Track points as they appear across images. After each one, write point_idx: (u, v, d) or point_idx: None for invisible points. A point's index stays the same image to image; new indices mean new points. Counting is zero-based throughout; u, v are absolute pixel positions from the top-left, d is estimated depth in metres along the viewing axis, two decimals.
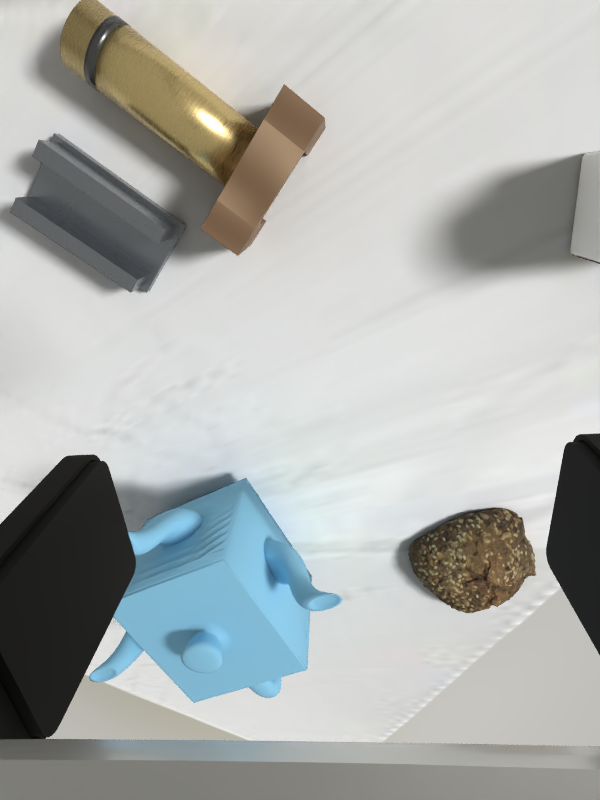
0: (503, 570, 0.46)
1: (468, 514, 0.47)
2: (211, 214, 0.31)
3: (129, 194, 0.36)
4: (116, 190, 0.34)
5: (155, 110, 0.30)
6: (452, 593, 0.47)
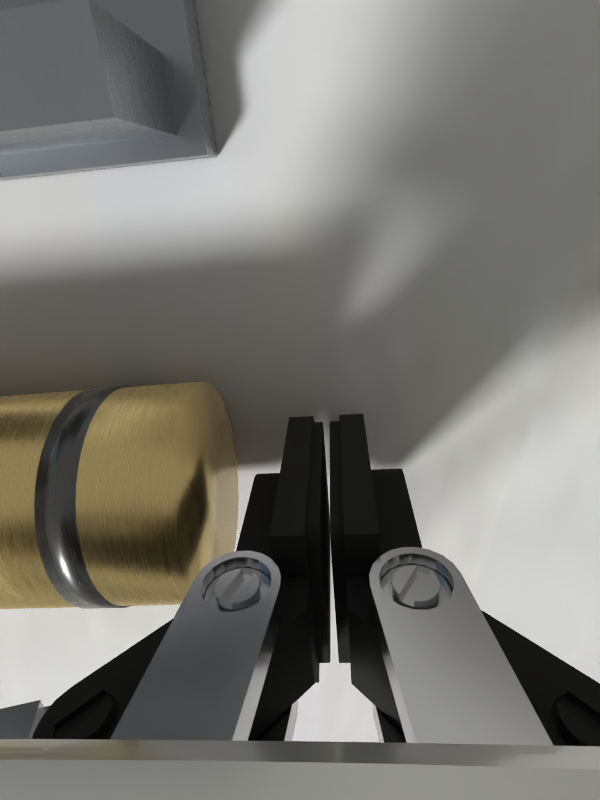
0: None
1: None
2: None
3: None
4: None
5: None
6: None
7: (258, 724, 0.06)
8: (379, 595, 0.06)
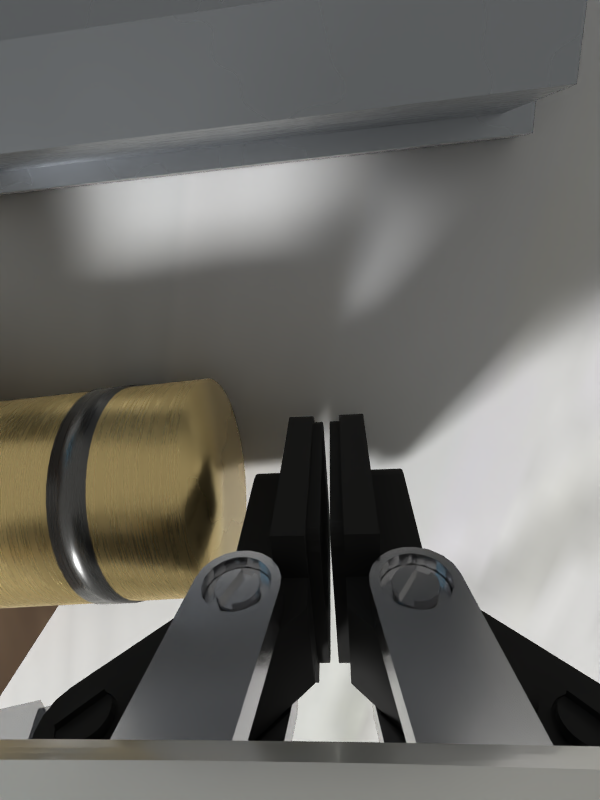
0: None
1: None
2: None
3: (154, 152, 0.08)
4: (159, 143, 0.07)
5: None
6: None
7: (258, 724, 0.06)
8: (379, 595, 0.06)
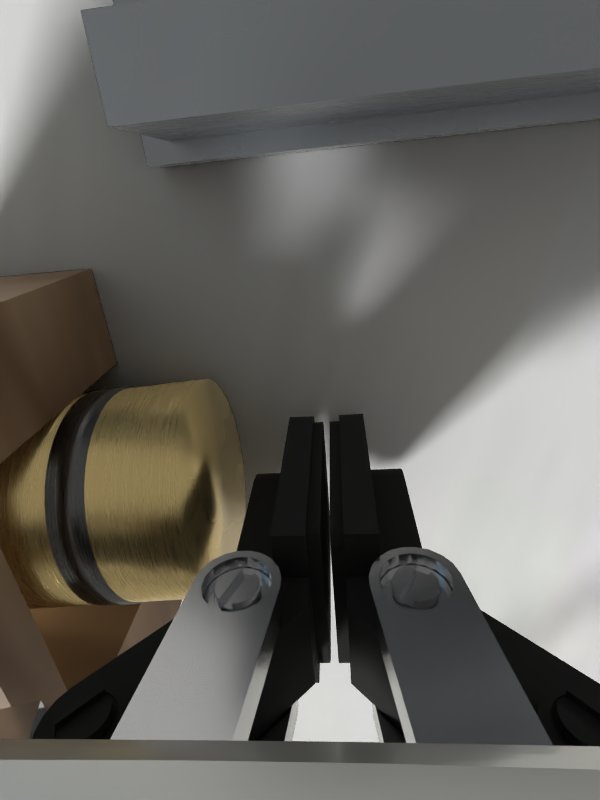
0: None
1: None
2: None
3: (395, 113, 0.08)
4: (444, 97, 0.07)
5: None
6: None
7: (258, 724, 0.06)
8: (379, 595, 0.06)
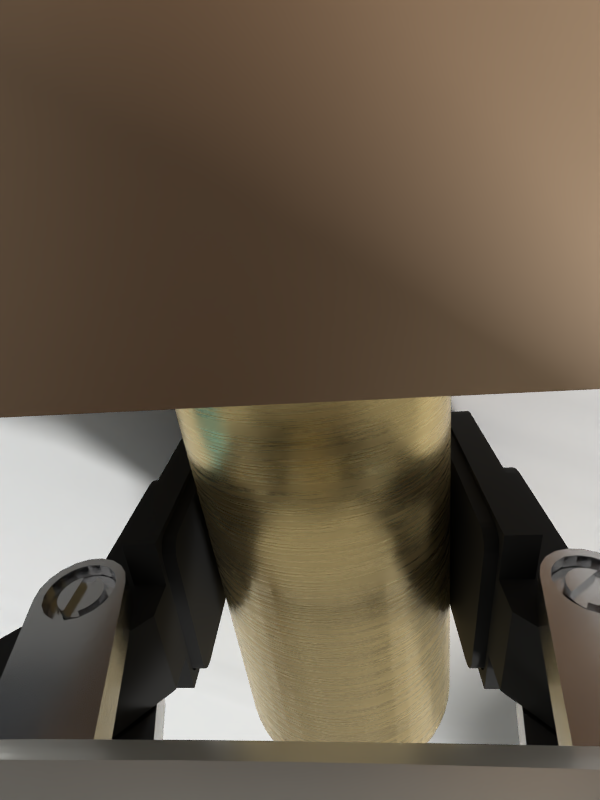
0: None
1: None
2: None
3: None
4: None
5: (210, 426, 0.06)
6: None
7: (126, 722, 0.07)
8: (561, 599, 0.06)
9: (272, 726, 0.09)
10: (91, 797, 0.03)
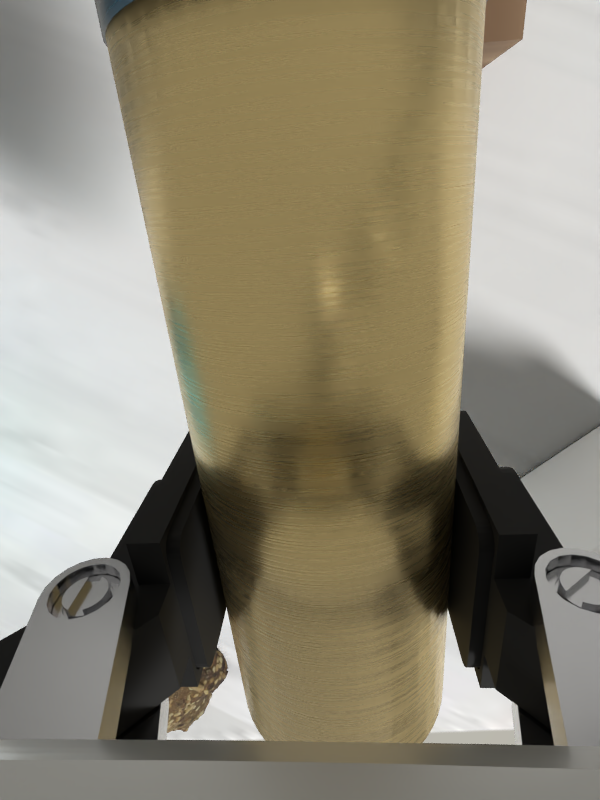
0: None
1: None
2: None
3: None
4: None
5: (222, 419, 0.06)
6: None
7: (130, 721, 0.07)
8: (555, 599, 0.06)
9: (265, 726, 0.09)
10: (91, 797, 0.03)
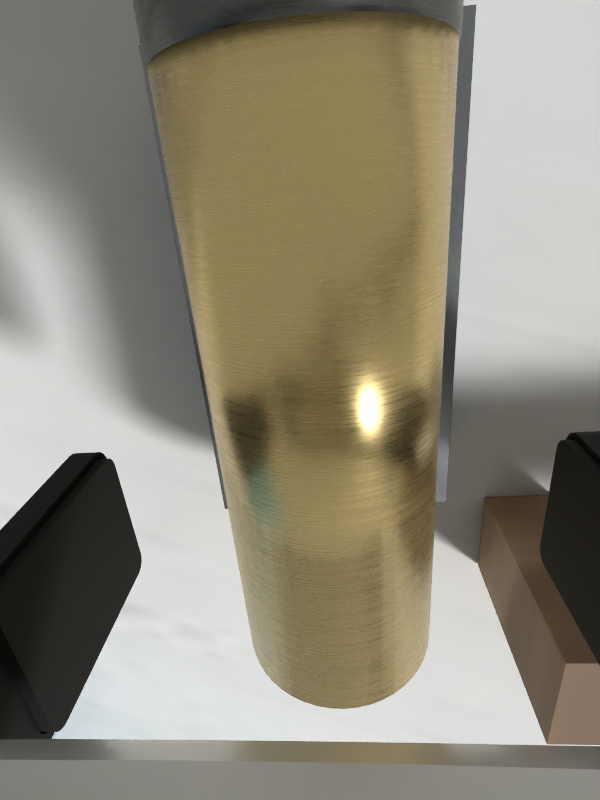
0: None
1: None
2: None
3: None
4: None
5: (227, 381, 0.07)
6: None
7: None
8: None
9: (263, 656, 0.10)
10: (91, 797, 0.03)
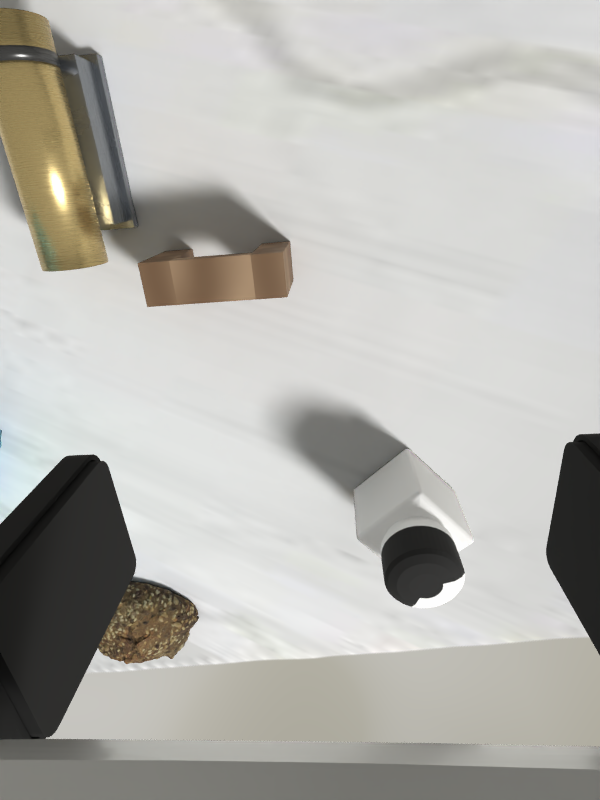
0: (153, 645, 0.53)
1: (166, 590, 0.53)
2: (155, 264, 0.32)
3: (113, 163, 0.34)
4: (104, 154, 0.32)
5: (6, 149, 0.29)
6: (103, 636, 0.52)
7: None
8: None
9: (40, 261, 0.32)
10: (91, 797, 0.03)
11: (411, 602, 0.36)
